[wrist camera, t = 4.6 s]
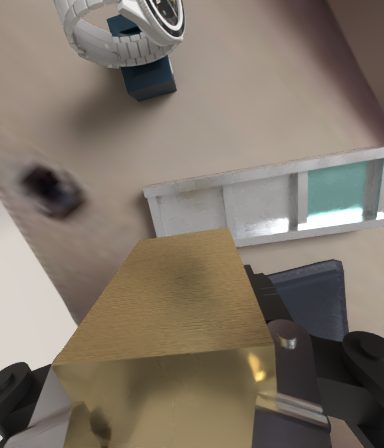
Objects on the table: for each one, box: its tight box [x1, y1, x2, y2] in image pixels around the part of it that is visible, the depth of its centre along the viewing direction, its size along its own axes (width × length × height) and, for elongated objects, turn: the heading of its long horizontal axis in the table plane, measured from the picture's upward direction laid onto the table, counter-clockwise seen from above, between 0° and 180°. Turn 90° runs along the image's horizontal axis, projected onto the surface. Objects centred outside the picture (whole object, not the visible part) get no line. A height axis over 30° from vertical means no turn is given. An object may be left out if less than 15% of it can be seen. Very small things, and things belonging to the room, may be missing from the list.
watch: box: [54, 0, 185, 101], centre depth 15 cm, size 6×8×11 cm
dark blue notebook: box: [266, 259, 349, 342], centre depth 30 cm, size 20×2×15 cm
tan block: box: [51, 227, 277, 448], centre depth 8 cm, size 5×5×7 cm
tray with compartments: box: [143, 145, 384, 247], centre depth 23 cm, size 8×26×3 cm, turn 100°
